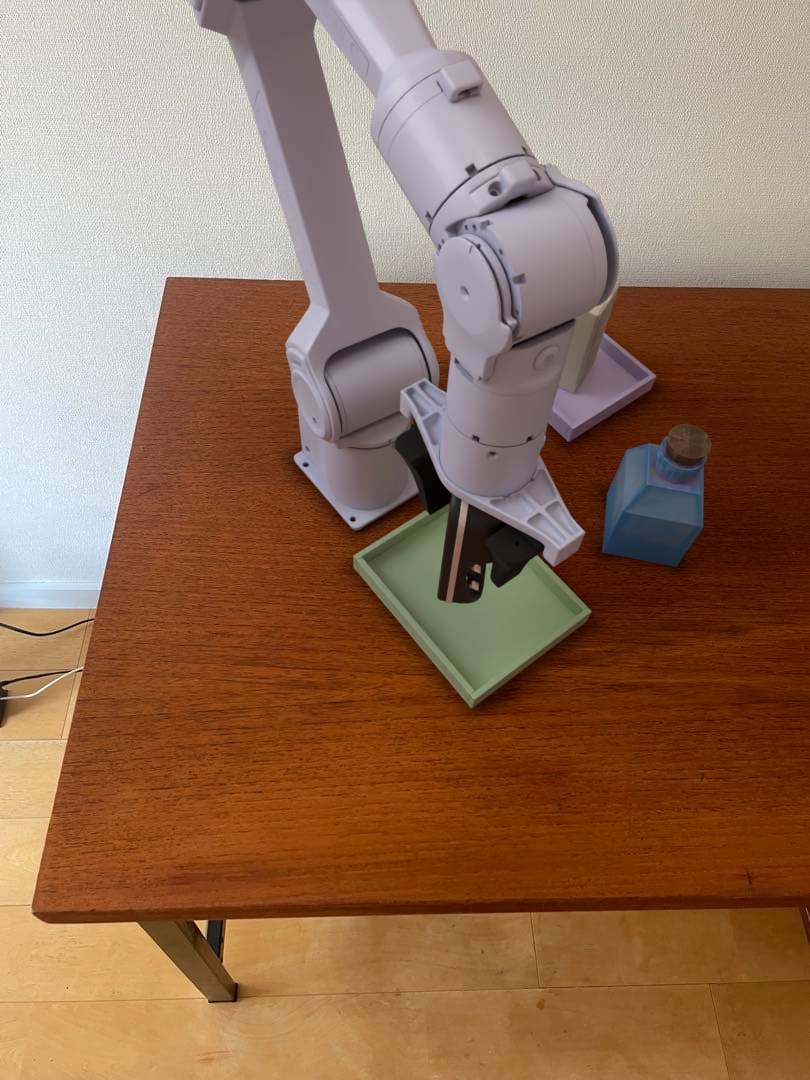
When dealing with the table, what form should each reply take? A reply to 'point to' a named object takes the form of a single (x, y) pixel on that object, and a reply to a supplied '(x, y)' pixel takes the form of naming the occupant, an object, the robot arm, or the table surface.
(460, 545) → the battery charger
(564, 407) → the lavender tray
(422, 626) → the sage tray
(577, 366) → the cream cardboard box
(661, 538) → the perfume bottle
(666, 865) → the table surface
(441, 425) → the robot arm
